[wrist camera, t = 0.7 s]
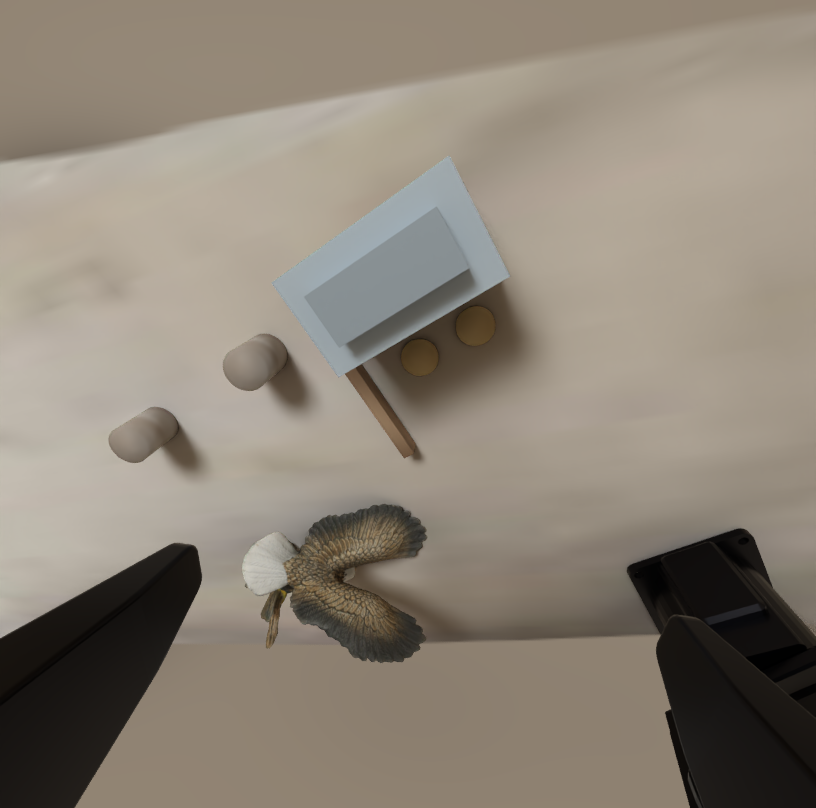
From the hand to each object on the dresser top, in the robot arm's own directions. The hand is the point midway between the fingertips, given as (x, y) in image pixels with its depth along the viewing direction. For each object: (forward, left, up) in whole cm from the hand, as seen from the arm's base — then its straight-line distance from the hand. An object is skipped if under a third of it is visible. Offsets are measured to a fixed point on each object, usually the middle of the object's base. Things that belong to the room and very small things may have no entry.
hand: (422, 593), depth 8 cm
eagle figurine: (-7, +10, -14) cm, 19 cm away
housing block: (+5, -1, -13) cm, 14 cm away
